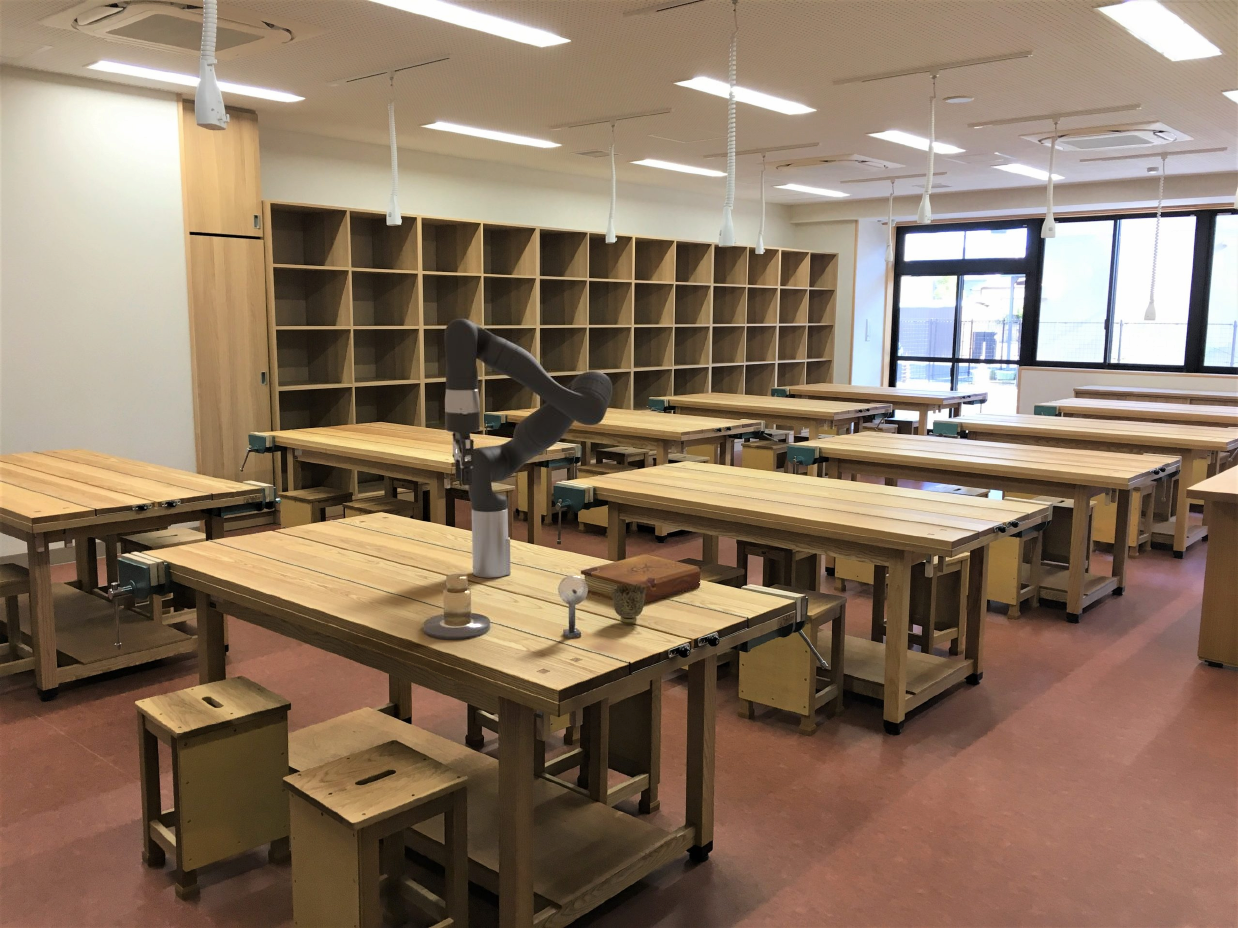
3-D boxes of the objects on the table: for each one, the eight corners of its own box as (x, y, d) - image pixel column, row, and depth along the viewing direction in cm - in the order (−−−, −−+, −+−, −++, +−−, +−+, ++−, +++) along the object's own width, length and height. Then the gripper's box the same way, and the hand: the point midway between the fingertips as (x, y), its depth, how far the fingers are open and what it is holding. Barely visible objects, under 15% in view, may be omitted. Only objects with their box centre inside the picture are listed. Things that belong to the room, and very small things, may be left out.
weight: (468, 616, 206) (467, 571, 204) (473, 624, 201) (472, 578, 199) (442, 619, 204) (440, 574, 203) (446, 627, 199) (445, 581, 197)
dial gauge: (583, 631, 201) (583, 572, 199) (589, 637, 197) (589, 576, 195) (556, 634, 199) (555, 574, 197) (561, 640, 195) (561, 579, 193)
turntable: (483, 616, 211) (482, 609, 211) (496, 635, 198) (496, 628, 198) (419, 622, 207) (419, 615, 206) (428, 642, 194) (428, 635, 193)
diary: (636, 609, 219) (636, 585, 218) (580, 593, 231) (580, 570, 231) (700, 588, 235) (700, 566, 234) (644, 575, 248) (644, 553, 247)
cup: (626, 615, 212) (626, 580, 211) (652, 622, 207) (652, 586, 206) (604, 623, 206) (604, 588, 205) (631, 630, 202) (631, 594, 200)
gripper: (440, 407, 216) (442, 477, 218) (450, 413, 202) (451, 488, 205) (473, 406, 218) (474, 475, 221) (485, 412, 205) (485, 486, 207)
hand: (463, 481), depth 213 cm, fingers open, 8 cm apart
